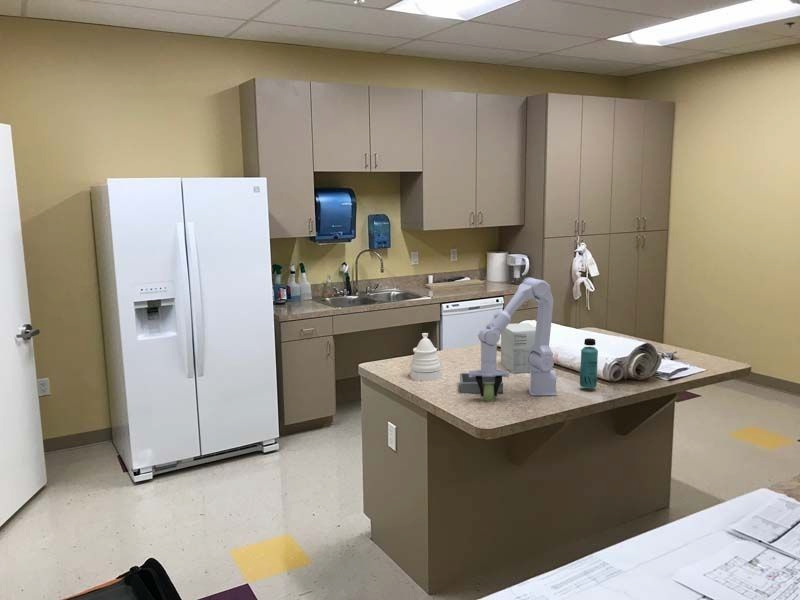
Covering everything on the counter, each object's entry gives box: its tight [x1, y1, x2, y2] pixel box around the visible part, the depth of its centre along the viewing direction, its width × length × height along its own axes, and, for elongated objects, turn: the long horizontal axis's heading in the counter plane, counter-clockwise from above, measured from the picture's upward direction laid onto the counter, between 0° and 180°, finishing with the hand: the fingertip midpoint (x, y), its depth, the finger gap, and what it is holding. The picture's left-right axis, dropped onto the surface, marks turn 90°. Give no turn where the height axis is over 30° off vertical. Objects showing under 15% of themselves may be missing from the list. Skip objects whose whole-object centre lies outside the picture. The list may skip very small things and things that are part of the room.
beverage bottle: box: [579, 337, 599, 389], centre depth 249 cm, size 6×7×20 cm
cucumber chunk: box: [482, 382, 496, 402], centre depth 241 cm, size 4×4×6 cm
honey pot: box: [409, 332, 442, 382], centre depth 271 cm, size 13×13×18 cm
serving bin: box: [459, 372, 504, 395], centre depth 255 cm, size 16×14×4 cm
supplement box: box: [500, 322, 536, 374], centre depth 282 cm, size 17×13×18 cm
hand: (488, 395), depth 241 cm, fingers closed on cucumber chunk, 4 cm apart
